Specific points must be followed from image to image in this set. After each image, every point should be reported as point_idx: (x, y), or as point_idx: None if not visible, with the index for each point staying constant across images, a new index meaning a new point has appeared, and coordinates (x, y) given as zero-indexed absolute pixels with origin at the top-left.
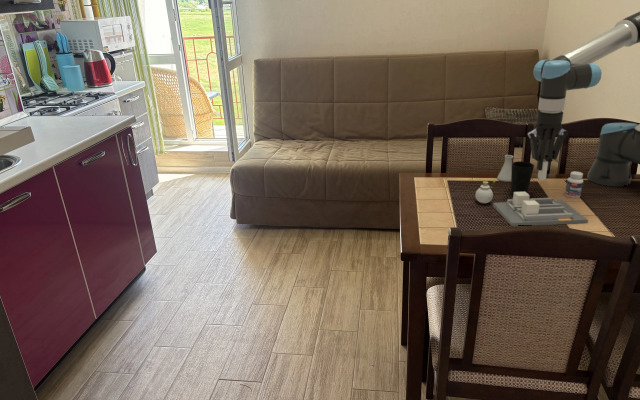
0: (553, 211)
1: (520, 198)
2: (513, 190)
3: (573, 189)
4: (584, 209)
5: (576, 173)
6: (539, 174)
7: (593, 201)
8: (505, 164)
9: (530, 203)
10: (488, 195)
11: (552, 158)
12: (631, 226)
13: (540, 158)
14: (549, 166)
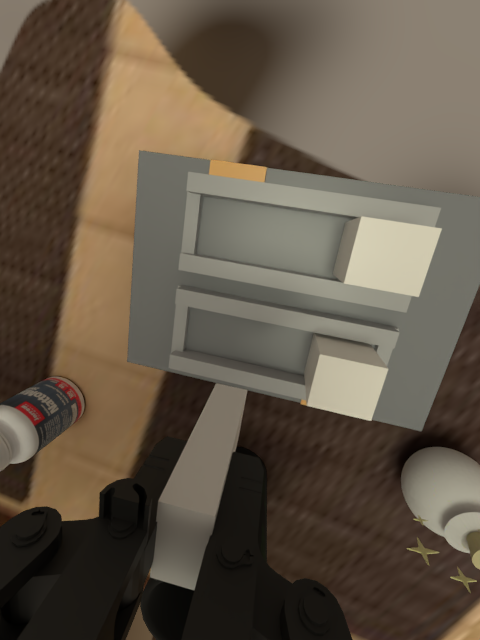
0: (233, 261)
1: (368, 358)
2: (265, 488)
3: (48, 399)
4: (87, 280)
5: None
6: (236, 443)
7: (22, 332)
8: None
9: (404, 245)
10: (461, 468)
11: (73, 535)
12: (6, 83)
13: (252, 597)
14: (150, 459)
